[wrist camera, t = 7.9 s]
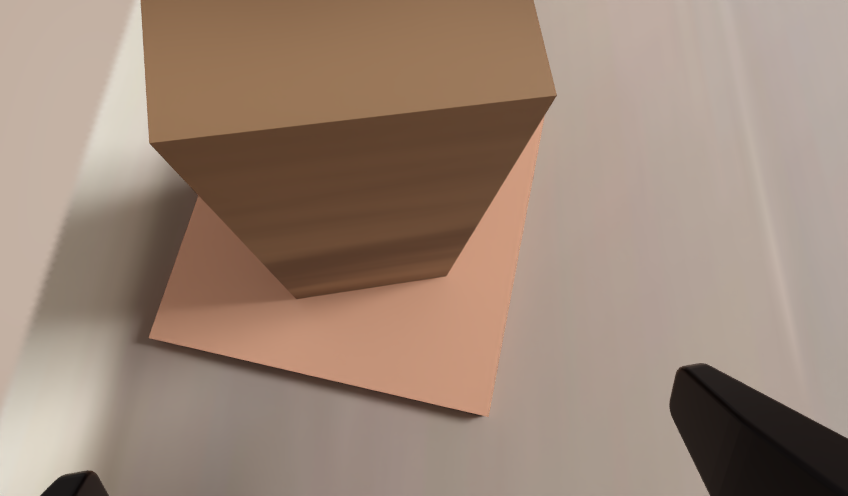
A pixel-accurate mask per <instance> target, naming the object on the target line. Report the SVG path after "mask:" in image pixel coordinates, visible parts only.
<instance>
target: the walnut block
mask: <svg viewBox="0 0 848 496" xmlns="http://www.w3.org/2000/svg"><path fill="white" fill-rule="evenodd" d="M141 13H142V30H143V46H144V63H145V80H146V96H147V113H148V129H149V143H150V144H151V145H152V146H153V148H154V149H155V150H156V151H157V152H158V153H159V154H160V155H161V156H162V157H163V158H164V159H165V160H166V161H167V162H168V163H169V165H170V166H171V167H172V168H173V169H174V170H175V171H176V172H177V173H178V174H179V175H180V176H181V177H182V178H183V179H184V180H185V182H186V183H187V184H188V185H189V186H190V187H191V188H192V189H193V190H194V191H195V192H196V193H197V194H198V195H199V196H200V197H201V199H202V200H203V201H204V202H205V203H206V204H207V205H208V206H209V207H210V208H211V209H212V210H213V211H214V212H215V213H216V214H217V216H218V217H219V218H220V219H221V220H222V221H223V222H224V223H225V224H226V225H227V226H228V227H229V228H230V229H231V230H232V232H233V233H234V234H235V235H236V236H237V237H238V238H239V239H240V240H241V241H242V242H243V243H244V244H245V245H246V246H247V247H248V249H249V250H250V251H251V252H252V253H253V254H254V255H255V256H256V257H257V258H258V259H259V260H260V261H261V262H262V263H263V264H264V266H265V267H266V268H267V269H268V270H269V271H270V272H271V273H272V274H273V275H274V276H275V277H276V278H277V279H278V280H279V281H280V283H281V284H282V285H283V286H284V287H285V288H286V289H287V290H288V291H289V292H290V293H291V294H292V295H293V296H294V297H295V298H296V299H301V298H308V297H314V296H321V295H327V294H334V293H340V292H347V291H354V290H360V289H367V288H373V287H380V286H386V285H393V284H399V283H406V282H412V281H419V280H426V279H432V278H439V277H445V276H447V275H448V273H449V271H450V270H451V268H452V266H453V265H454V263H455V261H456V260H457V258H458V257H459V255H460V253H461V252H462V250H463V248H464V247H465V245H466V243H467V242H468V240H469V238H470V237H471V235H472V234H473V232H474V230H475V229H476V227H477V225H478V224H479V222H480V220H481V219H482V217H483V216H484V214H485V212H486V211H487V209H488V207H489V206H490V204H491V202H492V201H493V199H494V197H495V196H496V194H497V193H498V191H499V189H500V188H501V186H502V184H503V183H504V181H505V179H506V178H507V176H508V175H509V173H510V171H511V170H512V168H513V166H514V165H515V163H516V161H517V160H518V158H519V156H520V155H521V153H522V152H523V150H524V148H525V147H526V145H527V143H528V142H529V140H530V138H531V137H532V135H533V134H534V132H535V130H536V129H537V127H538V125H539V124H540V122H541V120H542V119H543V117H544V115H545V114H546V112H547V111H548V109H549V107H550V106H551V104H552V102H553V101H554V99H555V97H556V96H557V94H556V90H555V86H554V82H553V78H552V74H551V70H550V66H549V62H548V58H547V54H546V50H545V46H544V41H543V37H542V33H541V29H540V25H539V21H538V17H537V13H536V9H535V5H534V1H533V0H141Z"/></svg>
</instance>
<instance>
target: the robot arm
mask: <svg viewBox="0 0 848 496" xmlns="http://www.w3.org/2000/svg"><path fill="white" fill-rule="evenodd" d="M670 412H671V416H672V418H673V420H674V422H675V424H676V426H677V428H678V431H679V433H680V435H681V437H682V439H683V441H684V443H685V445H686V447H687V449H688V451H689V453H690V455H691V457H692V459H693V461H694V463H695V466H696V468H697V470H698V472H699V474H700V476H701V478H702V480H703V482H704V484H705V486H706V488H707V490H708V492H709V494H710V496H848V438H846V437H844V436H842V435H840V434H838V433H836V432H834V431H833V430H831V429H829V428H827V427H825V426H823V425H821V424H819V423H817V422H815V421H814V420H812V419H810V418H808V417H806V416H804V415H802V414H800V413H798V412H797V411H795V410H793V409H791V408H789V407H787V406H785V405H783V404H781V403H780V402H778V401H776V400H774V399H772V398H770V397H768V396H766V395H764V394H763V393H761V392H759V391H757V390H755V389H753V388H751V387H749V386H747V385H746V384H744V383H742V382H740V381H738V380H736V379H734V378H732V377H730V376H729V375H727V374H725V373H723V372H721V371H719V370H717V369H715V368H713V367H712V366H710V365H707V364H704V363H698V364H692V365H687V366H682V367H680V368H679V369H678V370H677V372H676V375H675V380H674V384H673V389H672V393H671V397H670ZM40 496H109V495H108V493H107V491H106V490H105V488H104V486H103V484H102V482H101V481H100V479H99V477H98V475H97V474H96V473H95V472H93V471H88V470H87V471H82V472H76V473H70V474H65V475H63V476H61V477H59V478H58V479H57V480H55V481H54V482H53V483H52V484H51V485H50V486H49V487H48V488H47V489H46V490H45V491H44V492H43V493H42V494H41V495H40Z"/></svg>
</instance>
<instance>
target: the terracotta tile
mask: <svg viewBox="0 0 848 496" xmlns="http://www.w3.org/2000/svg"><path fill="white" fill-rule="evenodd" d="M544 116H545V115H544ZM543 121H544V117H543V119H542V120H541V122H540V124H539V125H538V127H537V129H536V130H535V132H534V134H533V135H532V137H531V138H530V140H529V142H528V143H527V145H526V147H525V148H524V150H523V152H522V153H521V155H520V156H519V158H518V160H517V161H516V163H515V165H514V166H513V168H512V170H511V171H510V173H509V175H508V176H507V178H506V179H505V181H504V183H503V184H502V186H501V188H500V189H499V191H498V193H497V194H496V196H495V197H494V199H493V201H492V202H491V204H490V206H489V207H488V209H487V211H486V212H485V214H484V216H483V217H482V219H481V220H480V222H479V224H478V225H477V227H476V229H475V230H474V232H473V234H472V235H471V237H470V238H469V240H468V242H467V243H466V245H465V247H464V248H463V250H462V252H461V253H460V255H459V257H458V258H457V260H456V261H455V263H454V265H453V266H452V268H451V270H450V271H449V273H448V275H447V276H445V277H439V278H432V279H426V280H419V281H412V282H406V283H399V284H393V285H386V286H380V287H373V288H367V289H360V290H354V291H347V292H340V293H334V294H327V295H321V296H314V297H308V298H301V299H296V298H295V297H294V296H293V295H292V294H291V293H290V292H289V291H288V290H287V289H286V288H285V287H284V286H283V285H282V284H281V283H280V281H279V280H278V279H277V278H276V277H275V276H274V275H273V274H272V273H271V272H270V271H269V270H268V269H267V268H266V267H265V266H264V264H263V263H262V262H261V261H260V260H259V259H258V258H257V257H256V256H255V255H254V254H253V253H252V252H251V251H250V250H249V249H248V247H247V246H246V245H245V244H244V243H243V242H242V241H241V240H240V239H239V238H238V237H237V236H236V235H235V234H234V233H233V232H232V230H231V229H230V228H229V227H228V226H227V225H226V224H225V223H224V222H223V221H222V220H221V219H220V218H219V217H218V216H217V214H216V213H215V212H214V211H213V210H212V209H211V208H210V207H209V206H208V205H207V204H206V203H205V202H204V201H203V200H202V199H201V197H200V196H199V195H198V198H197V201H196V204H195V207H194V209H193V212H192V215H191V218H190V221H189V224H188V227H187V229H186V232H185V235H184V238H183V241H182V244H181V246H180V249H179V252H178V255H177V258H176V261H175V264H174V266H173V269H172V272H171V275H170V278H169V281H168V284H167V286H166V289H165V292H164V295H163V298H162V301H161V304H160V306H159V309H158V312H157V315H156V318H155V321H154V324H153V326H152V329H151V332H150V335H149V338H151V339H156V340H160V341H164V342H169V343H173V344H177V345H182V346H186V347H190V348H194V349H199V350H203V351H207V352H212V353H216V354H220V355H225V356H229V357H233V358H237V359H242V360H246V361H250V362H255V363H259V364H263V365H268V366H272V367H276V368H280V369H285V370H289V371H293V372H298V373H302V374H306V375H311V376H315V377H319V378H324V379H328V380H332V381H336V382H341V383H345V384H349V385H354V386H358V387H362V388H367V389H371V390H375V391H379V392H384V393H388V394H392V395H397V396H401V397H405V398H410V399H414V400H418V401H422V402H427V403H431V404H435V405H440V406H444V407H448V408H453V409H457V410H461V411H465V412H470V413H474V414H478V415H483V416H487V417H488V416H489V411H490V406H491V400H492V395H493V389H494V384H495V379H496V373H497V368H498V363H499V357H500V352H501V346H502V341H503V336H504V330H505V325H506V320H507V314H508V309H509V304H510V298H511V293H512V287H513V282H514V277H515V271H516V266H517V261H518V255H519V250H520V245H521V239H522V234H523V228H524V223H525V218H526V212H527V207H528V202H529V196H530V191H531V186H532V180H533V175H534V169H535V164H536V159H537V153H538V148H539V143H540V137H541V132H542V127H543Z"/></svg>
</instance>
